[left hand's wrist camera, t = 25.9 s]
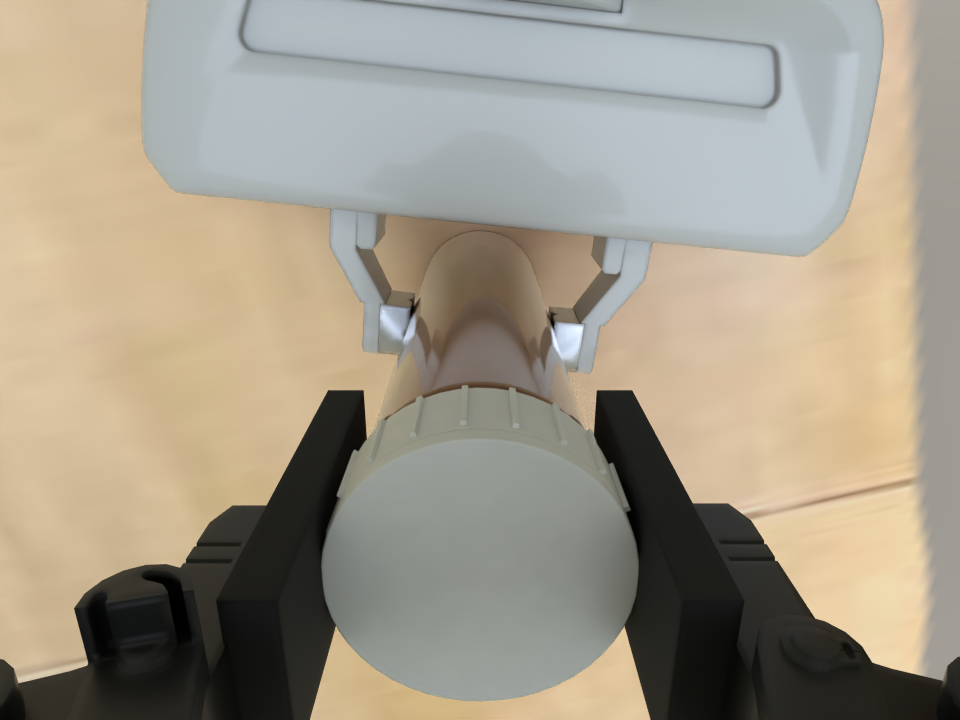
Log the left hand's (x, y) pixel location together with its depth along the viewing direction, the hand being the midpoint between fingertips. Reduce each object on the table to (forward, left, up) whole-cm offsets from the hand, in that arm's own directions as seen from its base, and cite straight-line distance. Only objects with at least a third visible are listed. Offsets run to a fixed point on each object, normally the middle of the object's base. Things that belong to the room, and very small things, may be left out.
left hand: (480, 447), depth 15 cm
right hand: (-1, 0, -8) cm, 8 cm away
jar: (0, 0, -14) cm, 14 cm away
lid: (0, 0, +4) cm, 4 cm away
